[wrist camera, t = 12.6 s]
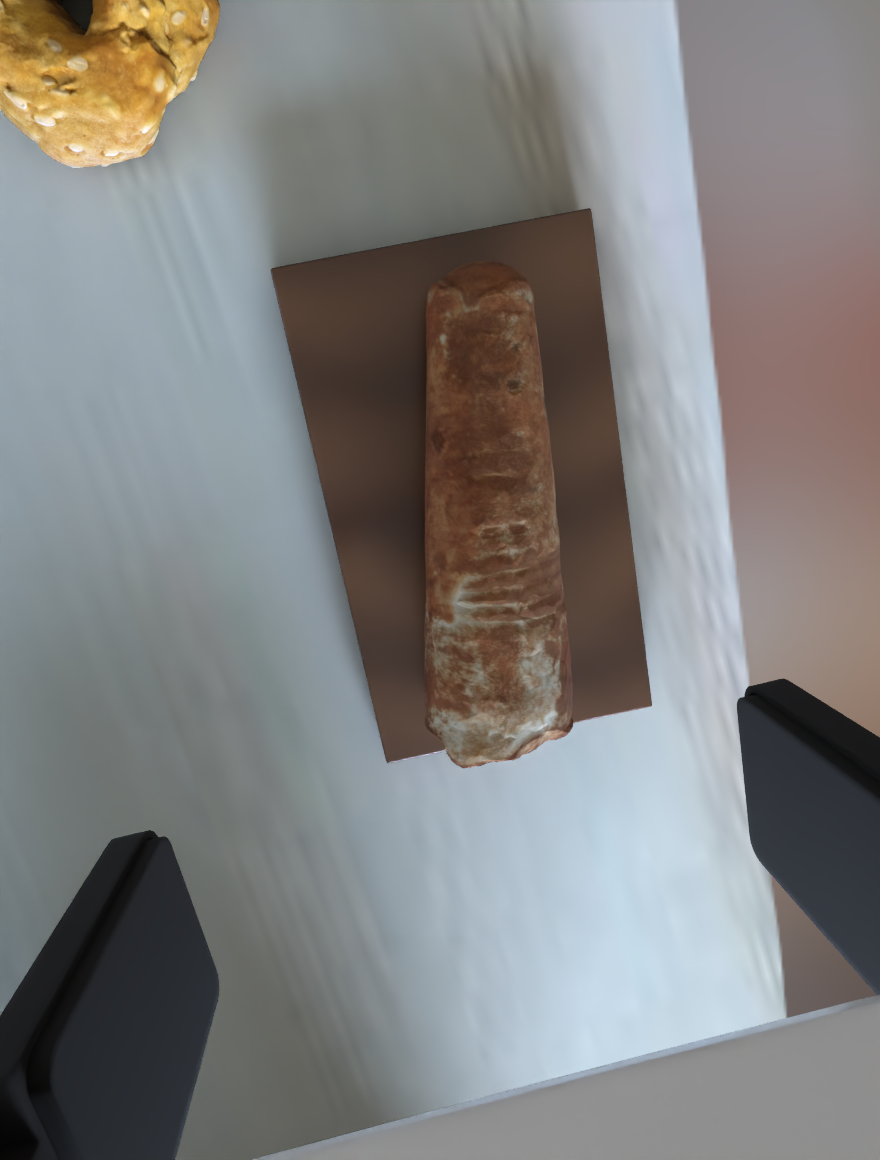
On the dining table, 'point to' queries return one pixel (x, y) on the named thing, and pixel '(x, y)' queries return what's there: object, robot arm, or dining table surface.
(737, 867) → the dining table surface
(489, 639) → the bread
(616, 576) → the bread board
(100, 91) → the bagel
